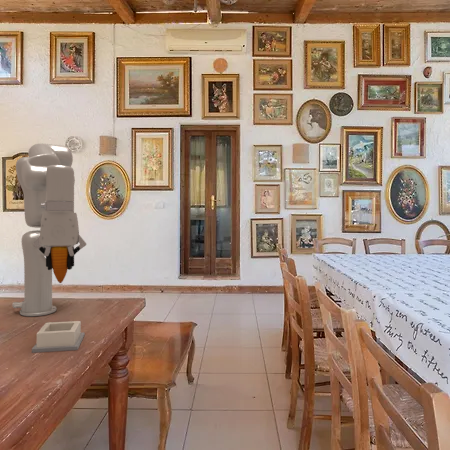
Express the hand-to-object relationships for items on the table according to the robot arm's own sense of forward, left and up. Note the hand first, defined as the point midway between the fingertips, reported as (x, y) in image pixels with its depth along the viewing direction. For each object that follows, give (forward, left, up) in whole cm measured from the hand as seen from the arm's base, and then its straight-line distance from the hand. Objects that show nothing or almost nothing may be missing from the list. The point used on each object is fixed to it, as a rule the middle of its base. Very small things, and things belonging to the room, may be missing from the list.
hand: (60, 268), depth 106 cm
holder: (0, 0, -22) cm, 22 cm away
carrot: (0, 0, -5) cm, 5 cm away
